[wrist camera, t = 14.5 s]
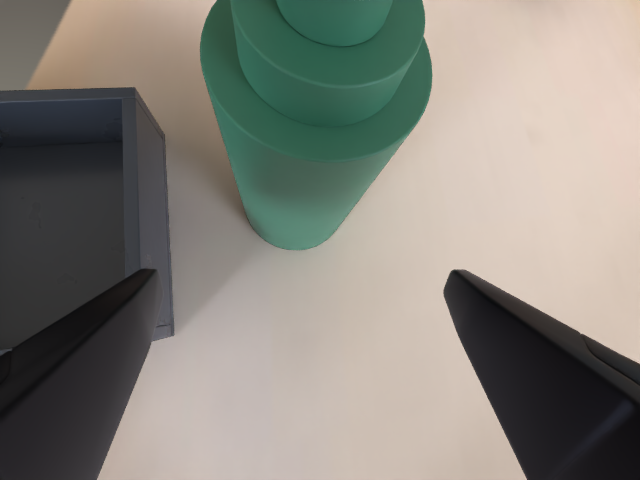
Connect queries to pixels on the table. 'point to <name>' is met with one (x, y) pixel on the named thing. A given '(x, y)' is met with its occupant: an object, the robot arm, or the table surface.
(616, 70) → the table surface
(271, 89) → the bottle
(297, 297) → the table surface
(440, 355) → the table surface
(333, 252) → the table surface
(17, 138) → the tray
